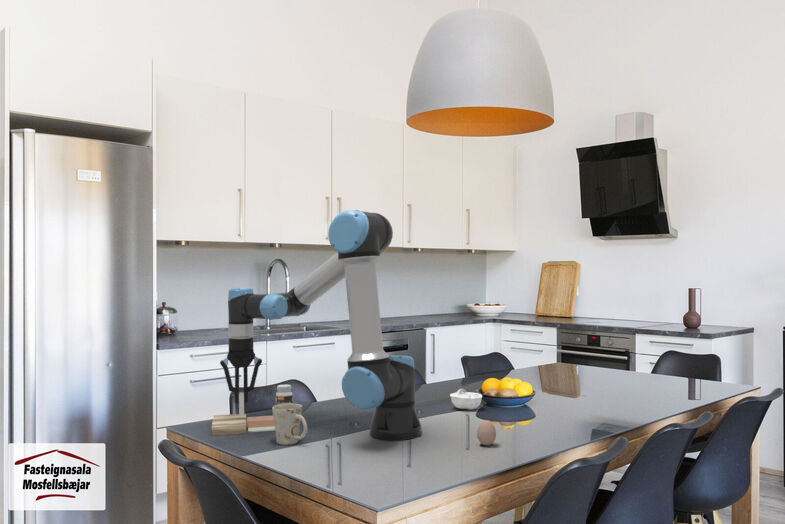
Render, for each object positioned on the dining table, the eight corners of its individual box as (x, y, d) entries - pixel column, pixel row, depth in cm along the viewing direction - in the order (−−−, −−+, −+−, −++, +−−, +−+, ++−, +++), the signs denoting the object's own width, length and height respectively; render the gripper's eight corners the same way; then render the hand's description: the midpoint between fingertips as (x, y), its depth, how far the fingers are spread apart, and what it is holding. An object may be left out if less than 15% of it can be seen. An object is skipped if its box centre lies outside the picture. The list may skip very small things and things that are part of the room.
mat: (288, 429, 201) (288, 428, 201) (248, 432, 198) (248, 431, 198) (285, 418, 217) (285, 416, 217) (247, 420, 214) (247, 419, 214)
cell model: (468, 414, 219) (468, 393, 219) (443, 408, 228) (443, 389, 228) (489, 409, 225) (489, 389, 225) (464, 404, 234) (464, 385, 234)
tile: (276, 421, 210) (276, 415, 210) (277, 426, 204) (277, 419, 204) (247, 423, 208) (246, 417, 208) (247, 428, 202) (247, 421, 202)
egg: (473, 445, 180) (472, 420, 180) (485, 441, 184) (484, 417, 184) (488, 449, 177) (488, 423, 177) (500, 445, 180) (499, 420, 180)
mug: (288, 436, 193) (288, 402, 193) (319, 443, 185) (318, 407, 185) (266, 442, 186) (266, 407, 186) (297, 450, 178) (296, 412, 178)
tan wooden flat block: (246, 433, 197) (246, 424, 197) (211, 435, 195) (211, 427, 195) (246, 421, 213) (246, 413, 213) (213, 423, 211) (213, 415, 211)
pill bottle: (276, 418, 217) (276, 387, 217) (275, 414, 223) (274, 384, 223) (294, 416, 219) (293, 386, 219) (292, 413, 224) (291, 383, 224)
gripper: (262, 335, 210) (262, 409, 210) (219, 336, 207) (220, 412, 207) (262, 337, 203) (263, 415, 203) (218, 339, 200) (219, 417, 200)
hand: (241, 413), depth 205 cm, fingers closed
